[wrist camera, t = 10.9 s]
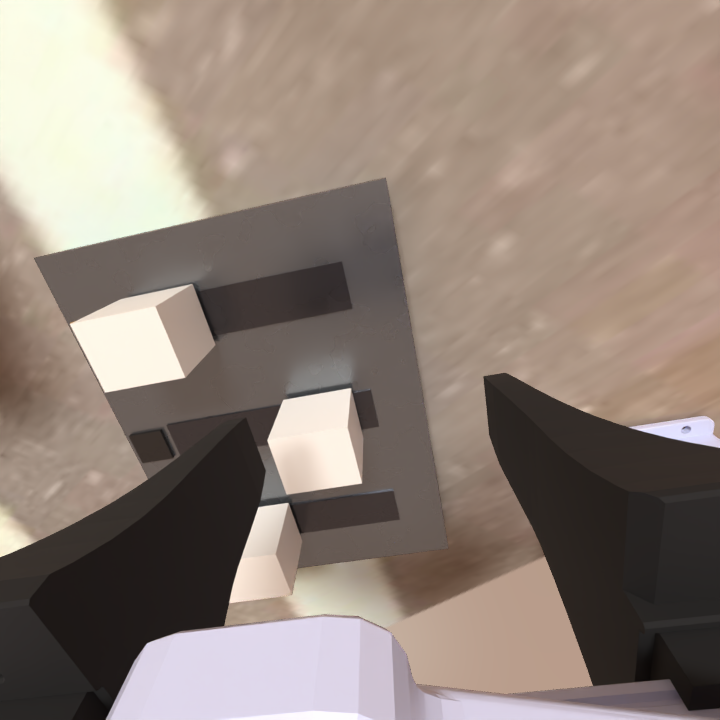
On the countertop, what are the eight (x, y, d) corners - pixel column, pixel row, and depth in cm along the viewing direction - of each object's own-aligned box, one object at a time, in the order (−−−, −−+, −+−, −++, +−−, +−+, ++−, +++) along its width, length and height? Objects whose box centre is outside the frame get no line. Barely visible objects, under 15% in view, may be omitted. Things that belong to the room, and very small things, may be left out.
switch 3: (351, 388, 20) (347, 427, 17) (363, 438, 22) (362, 483, 18) (283, 399, 21) (267, 440, 18) (299, 448, 22) (286, 494, 19)
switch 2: (288, 502, 23) (275, 554, 20) (302, 540, 25) (292, 595, 21) (230, 511, 24) (208, 563, 21) (246, 548, 25) (228, 603, 22)
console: (384, 177, 19) (386, 177, 17) (443, 523, 27) (449, 551, 25) (64, 250, 20) (30, 258, 18) (211, 554, 29) (199, 583, 27)
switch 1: (192, 284, 18) (155, 306, 15) (215, 345, 20) (185, 377, 16) (120, 299, 19) (69, 324, 16) (147, 358, 20) (105, 392, 17)
